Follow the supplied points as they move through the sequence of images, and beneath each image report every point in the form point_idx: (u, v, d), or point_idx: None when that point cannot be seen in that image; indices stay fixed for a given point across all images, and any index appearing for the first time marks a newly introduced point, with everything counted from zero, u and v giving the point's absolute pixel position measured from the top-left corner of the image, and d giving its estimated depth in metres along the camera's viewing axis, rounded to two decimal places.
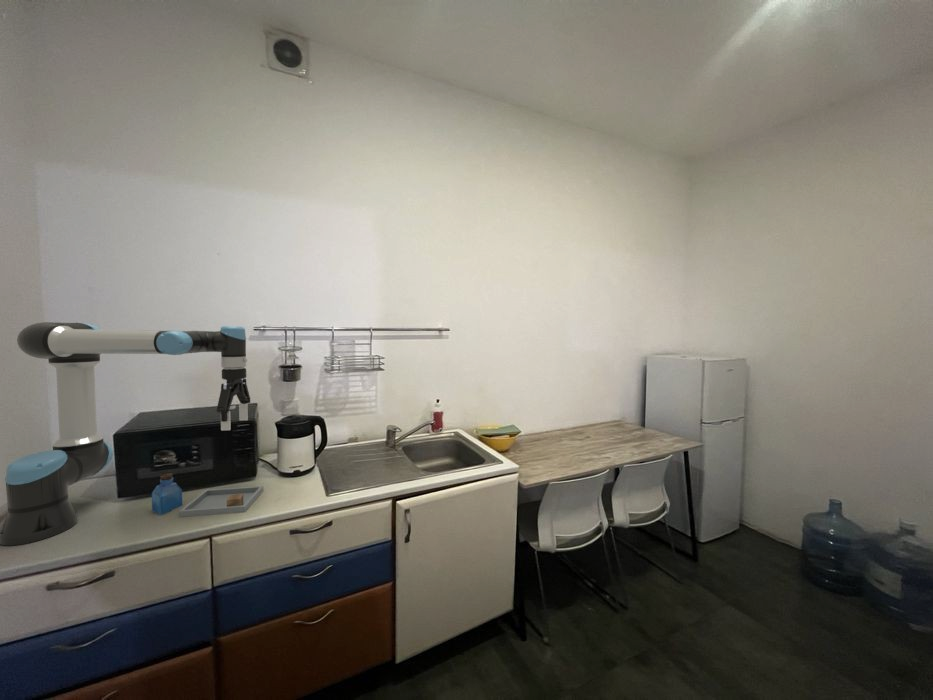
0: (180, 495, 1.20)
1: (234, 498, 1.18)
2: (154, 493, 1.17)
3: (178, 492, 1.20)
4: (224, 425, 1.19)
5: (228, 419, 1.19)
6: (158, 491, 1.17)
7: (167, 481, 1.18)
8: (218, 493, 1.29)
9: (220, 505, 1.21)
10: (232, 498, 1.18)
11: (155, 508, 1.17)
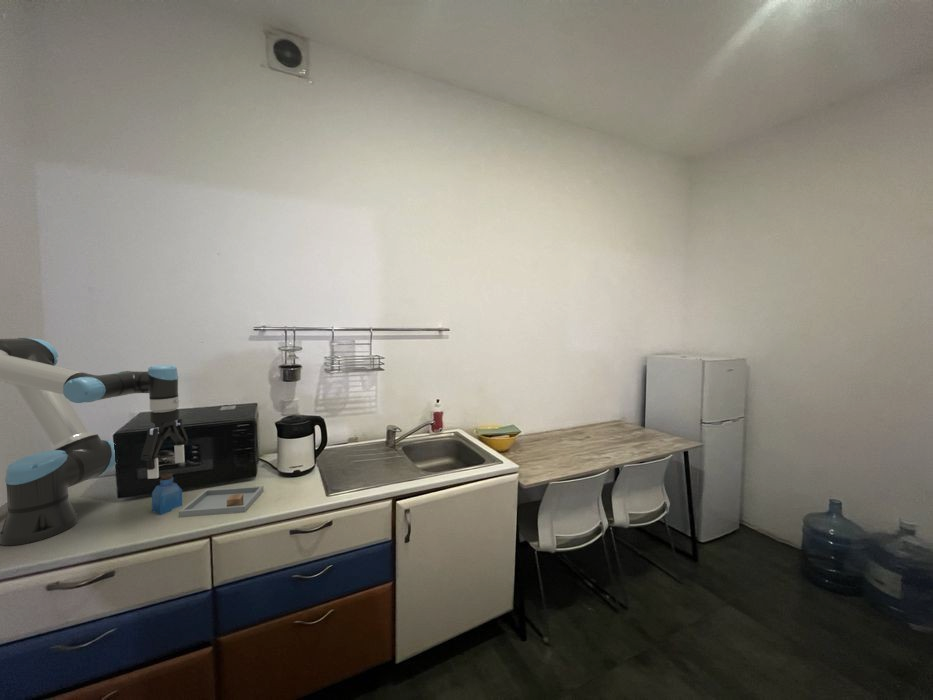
0: (180, 495, 1.20)
1: (234, 498, 1.18)
2: (154, 493, 1.17)
3: (178, 492, 1.20)
4: (151, 473, 1.12)
5: (155, 466, 1.12)
6: (158, 491, 1.17)
7: (167, 481, 1.18)
8: (218, 493, 1.29)
9: (220, 505, 1.21)
10: (232, 498, 1.18)
11: (155, 508, 1.17)
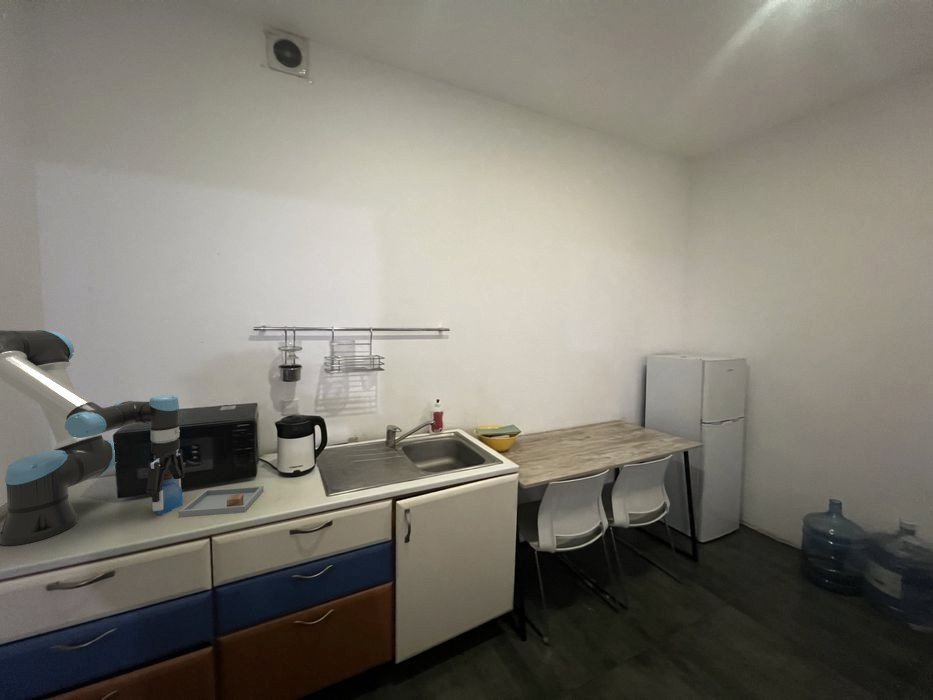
0: (180, 495, 1.20)
1: (234, 498, 1.18)
2: None
3: (178, 492, 1.20)
4: (156, 505, 1.14)
5: (160, 499, 1.15)
6: None
7: (167, 481, 1.18)
8: (218, 493, 1.29)
9: (220, 505, 1.21)
10: (232, 498, 1.18)
11: None
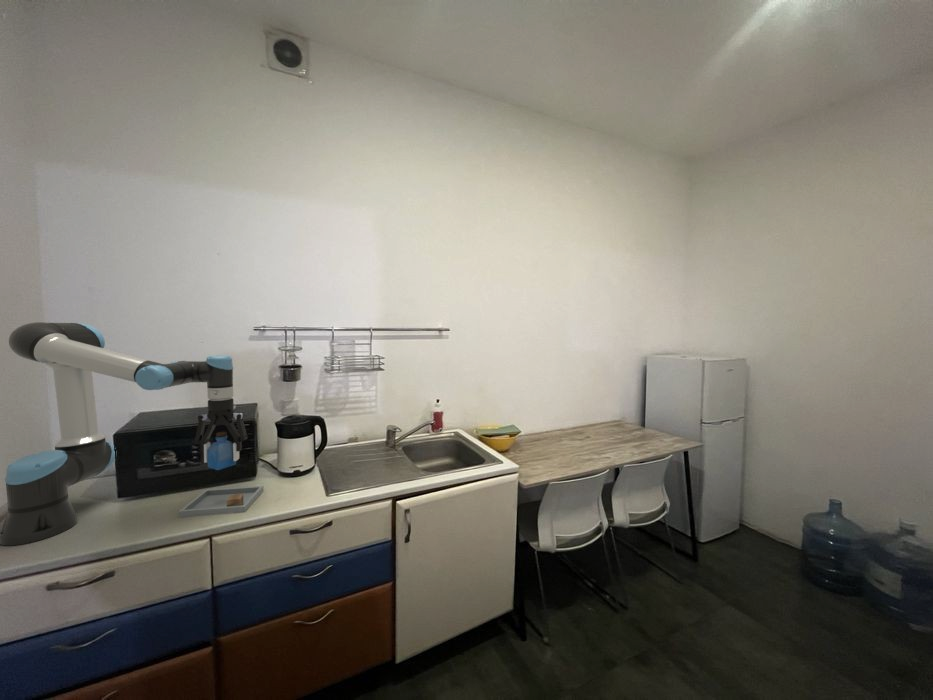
0: (216, 457, 1.19)
1: (234, 498, 1.18)
2: None
3: (215, 453, 1.19)
4: None
5: None
6: None
7: None
8: (218, 493, 1.29)
9: (220, 505, 1.21)
10: (232, 498, 1.18)
11: None
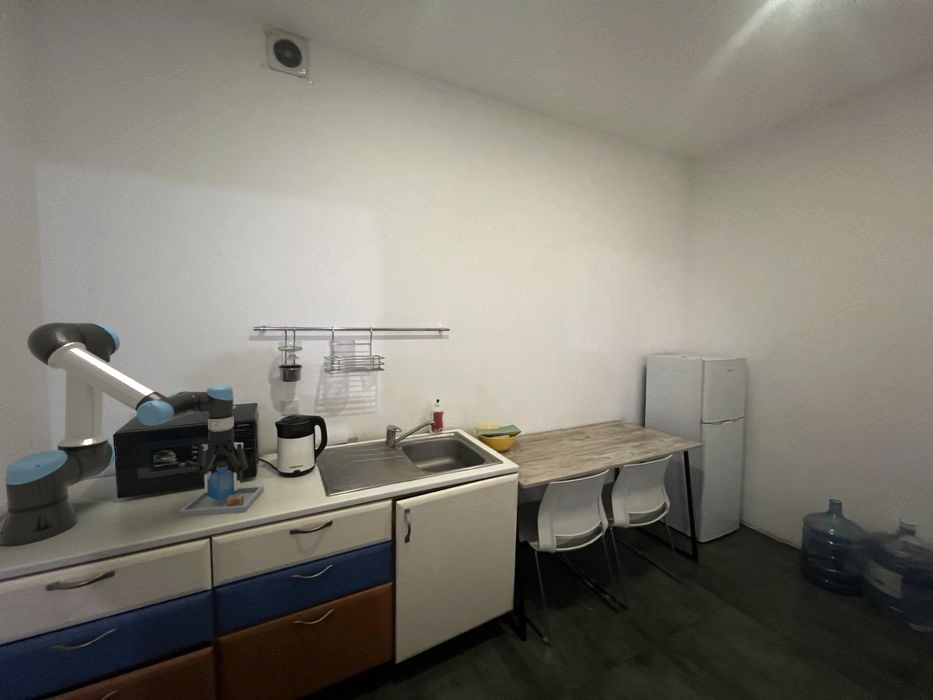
0: (216, 488, 1.19)
1: (234, 498, 1.18)
2: None
3: (215, 484, 1.20)
4: None
5: None
6: None
7: (216, 468, 1.22)
8: None
9: (220, 505, 1.21)
10: (232, 498, 1.18)
11: None
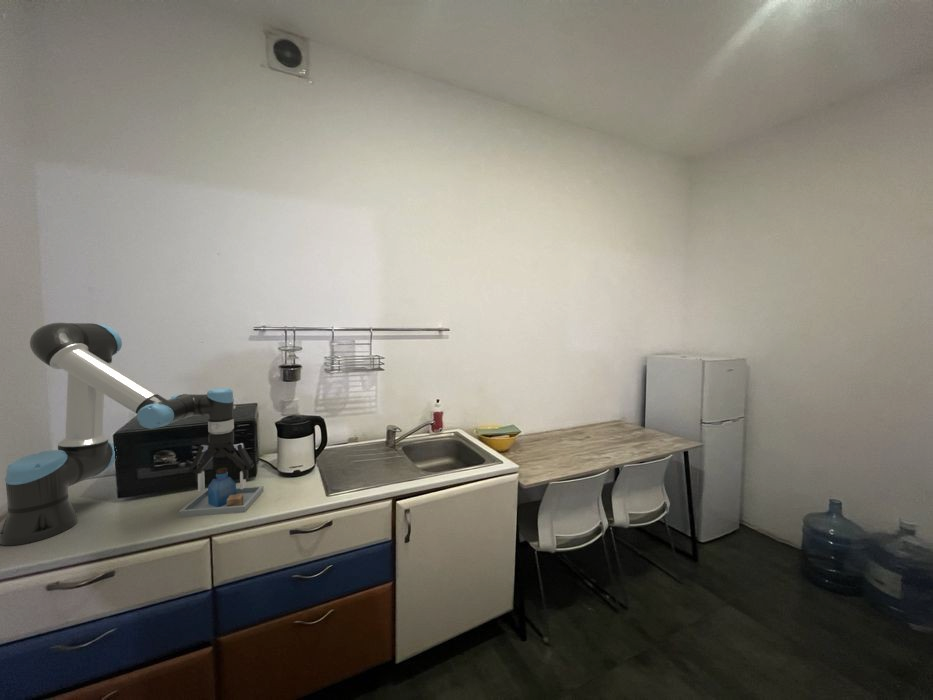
0: (216, 495, 1.19)
1: (234, 498, 1.18)
2: None
3: (215, 491, 1.20)
4: None
5: None
6: None
7: (216, 475, 1.22)
8: None
9: None
10: (232, 498, 1.18)
11: None
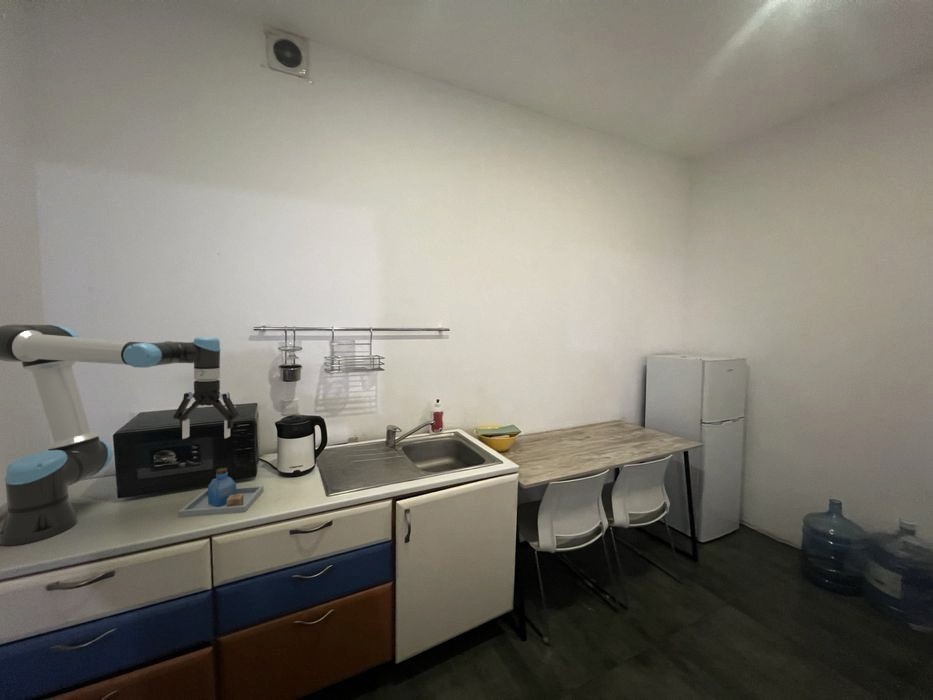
0: (216, 495, 1.19)
1: (234, 498, 1.18)
2: None
3: (215, 491, 1.20)
4: None
5: None
6: None
7: (216, 475, 1.22)
8: None
9: None
10: (232, 498, 1.18)
11: None
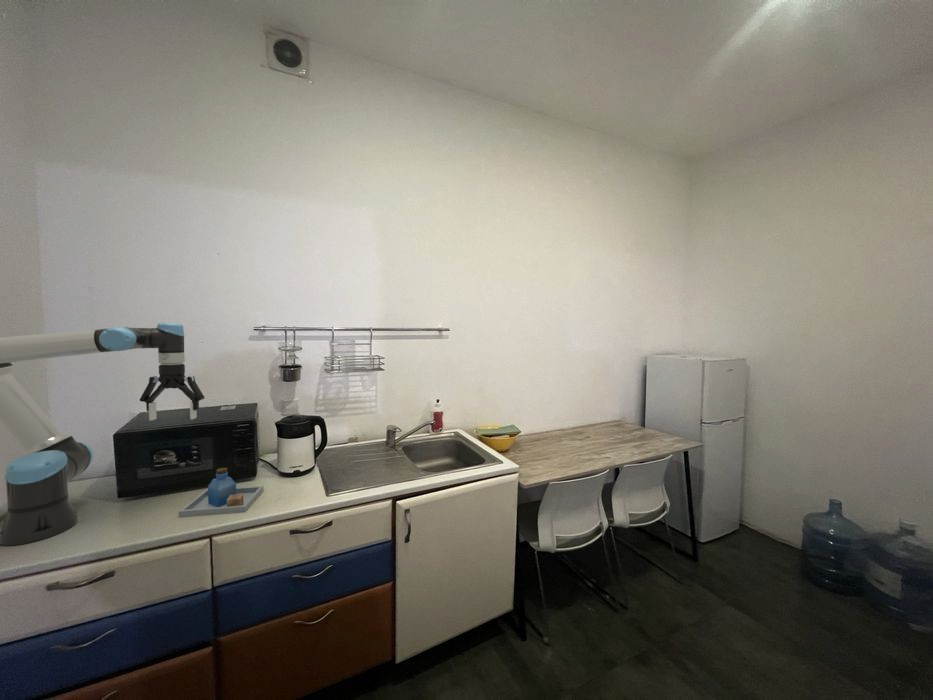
0: (216, 495, 1.19)
1: (234, 498, 1.18)
2: None
3: (215, 491, 1.20)
4: None
5: None
6: None
7: (216, 475, 1.22)
8: None
9: None
10: (232, 498, 1.18)
11: None
